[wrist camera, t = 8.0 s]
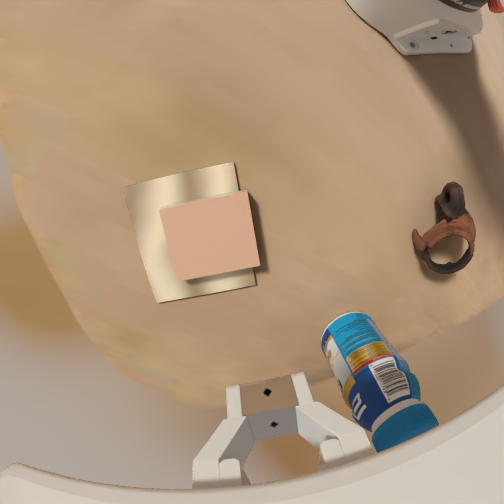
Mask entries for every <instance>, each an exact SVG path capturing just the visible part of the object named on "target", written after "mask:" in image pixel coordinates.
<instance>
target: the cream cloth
mask: <svg viewBox="0 0 504 504" xmlns="http://www.w3.org/2000/svg"><path fill="white" fill-rule="evenodd" d="M123 191H124V195H125V199H126V203H127V207H128V211H129V214H130V218H131V222H132V226H133V229H134V233H135V236H136V240H137V243H138V246H139V250H140V253H141V256H142V260H143V263H144V266H145V269H146V272H147V275H148V278H149V281H150V284H151V287H152V290H153V293H154V296H155V299H156V302H157V303H159V302H165V301H171V300H177V299H182V298H188V297H194V296H199V295H205V294H210V293H216V292H221V291H226V290H232V289H237V288H242V287H247V286H252V285H256V283H255V278H254V272H253V267H251V268H245V269H240V270H235V271H230V272H225V273H220V274H214V275H209V276H204V277H199V278H193V279H188V280H183V281H178V279H177V276H176V272H175V269H174V265H173V262H172V258H171V255H170V251H169V248H168V244H167V240H166V236H165V233H164V229H163V225H162V221H161V217H160V213H159V209H160V208H161V207H163V206H167V205H172V204H176V203H181V202H185V201H190V200H195V199H199V198H204V197H209V196H214V195H219V194H224V193H229V192H234V191H239V190H238V184H237V179H236V173H235V168H234V162H232V163H226V164H221V165H216V166H211V167H206V168H201V169H197V170H192V171H187V172H183V173H178V174H174V175H170V176H166V177H162V178H158V179H154V180H150V181H146V182H142V183H138V184H134V185H131V186H127V187H124V188H123Z"/></svg>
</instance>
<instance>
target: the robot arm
mask: <svg viewBox="0 0 504 504" xmlns="http://www.w3.org/2000/svg"><path fill="white" fill-rule="evenodd" d="M346 1H347V2H348V4H349V5H350V6H351V7H352V9H353V10H354V11H355V12H356V13H357V14H358V15H359V16H360V17H361V18H362V19H364V20H365V21H366V22H367V23H368V24H370V25H371V26H373V27H374V28H376V29H377V30H378V31H380V32H381V33H383V34H384V35H385V36H386V37H387V38H388V39H389V40H390V42H391V43H392V44H393V45H394V47H395V48H396V49H397V50H398V51H399V52H400V53H402V54H403V55H417V54H438V53H468V52H471V49H472V36H473V35H476V34H479V33H480V32H481V30H482V27H483V21H482V15H481V9H480V8H481V7H482V6H483V5H485V4H486V3H487V2H488V7H489V10H490V11H491V12H494V13H502V12H504V8H503V6H502V5H501V3H500V0H346ZM410 44H411V45H412V47H411V45H410ZM226 397H227V416H228V419H224V420H223V421H222V423H221V424H220V425H219V427H218V428H217V429H216V431H215V432H214V434H213V435H212V436H211V438H210V439H209V440H208V442H207V443H206V445H205V446H204V447H203V448H202V450H201V451H200V453H199V454H198V455H197V456H196V458H195V459H194V460H193V484H192V485H193V487H192V489H154V488H139V487H127V486H118V485H111V484H103V483H97V482H92V481H85V480H81V479H76V478H71V477H66V476H63V475H58V474H54V473H51V472H47V471H44V470H40V469H37V468H34V467H31V466H27V465H25V464H21V463H13V464H11V465H9V466H8V467H6V468H5V469H4V470H2V471H1V472H0V504H504V384H503V385H502V386H501V387H499V388H498V389H496V390H495V391H494V392H492V393H491V394H489V395H488V396H486V397H485V398H484V399H482V400H481V401H479V402H478V403H476V404H474V405H473V406H471V407H470V408H468V409H466V410H465V411H463V412H461V413H460V414H458V415H457V416H455V417H453V418H451V419H449V420H447V421H446V422H444V423H442V424H440V425H438V426H436V427H434V428H432V429H431V430H429V431H427V432H425V433H422V434H420V435H418V436H416V437H414V438H412V439H410V440H408V441H405V442H403V443H401V444H398V445H396V446H394V447H391V448H389V449H386V450H384V451H381V452H379V453H376V454H374V452H373V449H372V447H371V445H370V443H369V440H368V438H367V436H366V434H365V432H364V430H363V428H362V427H360V426H358V425H356V424H355V423H353V422H351V421H350V420H348V419H346V418H345V417H343V416H341V415H340V414H338V413H336V412H335V411H333V410H332V409H330V408H328V407H327V406H325V405H324V404H322V403H320V402H319V401H317V402H314V399H313V397H312V394H311V391H310V388H309V385H308V382H307V379H306V377H305V374H304V372H300V373H295V374H291V375H286V376H282V377H277V378H273V379H268V380H264V381H258V382H252V383H245V384H240V385H232V386H227V388H226ZM292 433H299V434H300V435H301V436H302V437H304V438H305V439H306V440H307V441H308V442H309V443H311V444H312V445H313V446H314V447H315V448H317V449H318V450H319V451H320V460H319V462H320V463H319V472H315V473H311V474H307V475H302V476H298V477H293V478H288V479H283V480H278V481H272V482H266V483H259V484H253V485H251V483H250V481H249V479H248V477H247V475H246V473H245V472H244V470H243V468H242V467H243V465H244V463H245V461H246V459H247V457H248V455H249V453H250V451H251V450H252V448H253V446H254V444H255V441H256V440H261V439H267V438H271V437H276V435H277V436H282V435H287V434H292Z"/></svg>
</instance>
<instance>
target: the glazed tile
mask: <svg viewBox="0 0 504 504" xmlns="http://www.w3.org/2000/svg"><path fill="white" fill-rule="evenodd" d="M159 213H160V217H161V221H162V225H163V229H164V233H165V236H166V240H167V244H168V248H169V251H170V255H171V258H172V262H173V265H174V269H175V272H176V276H177V279H178V281H183V280H188V279H193V278H199V277H204V276H209V275H214V274H220V273H225V272H230V271H235V270H240V269H245V268H251V267H256V266H260V261H259V256H258V250H257V244H256V238H255V233H254V227H253V221H252V215H251V210H250V204H249V198H248V192H247V190H246V189H245V190H239V191H234V192H229V193H224V194H219V195H214V196H209V197H204V198H199V199H195V200H190V201H185V202H181V203H176V204H172V205H167V206H163V207H161V208H160V209H159Z"/></svg>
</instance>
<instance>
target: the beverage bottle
mask: <svg viewBox="0 0 504 504" xmlns="http://www.w3.org/2000/svg"><path fill="white" fill-rule="evenodd" d="M321 348H322V350H323V353H324V354H325V356H326V358H327V360H328V362H329V364H330V367H331V369H332V371H333V373H334V375H335V378H336V380H337V382H338V384H339V386H340V389H341V391H342V394H343V398H344V401H345V403H346V404H347V406H348V407H349V408H350V409H352V415H353V418H354V419H355V421H356V422H357V423H358V424H359V425H360V426H362V427H363V428H365V429H366V430H368V431H371V432H372V442H373V444H374V447H375V449H376V451H377V453H379V452H381V451H384V450H386V449H389V448H391V447H394V446H396V445H398V444H401V443H403V442H405V441H408V440H410V439H412V438H414V437H416V436H418V435H420V434H422V433H425V432H427V431H429V430H431V429H432V428H434V427H436V426H438V425H439V423H438V421H437V419H436V417H435V416H434V414H433V413H432V411H431V410H430V409H429V407H428V406H427V405H426V404H425V403H423V402H420V387H419V383H418V380H417V378H416V377H415V375H414V374H412V373H410V369H409V366H408V364H407V362H406V361H405V360H404V359H403V357H401V356H400V355H398V354H397V352H396V351H395V350H394V349H393V347H392V346H391V345H390V343H389V342H388V341H387V340H386V338H385V337H384V336H383V334H382V333H381V332H380V331H379V329H378V328H377V326H376V325H375V323H374V322H373V320H372V319H371V318H370V317H369V316H368V315H367V314H365V313H362V312H348V313H345V314H342V315H340V316H339V317H337V318H335V319H334V320H333V321H332V322H331V323H330V324H329V325H328V326H327V327H326V329H325V330H324V332H323V334H322V337H321Z"/></svg>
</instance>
